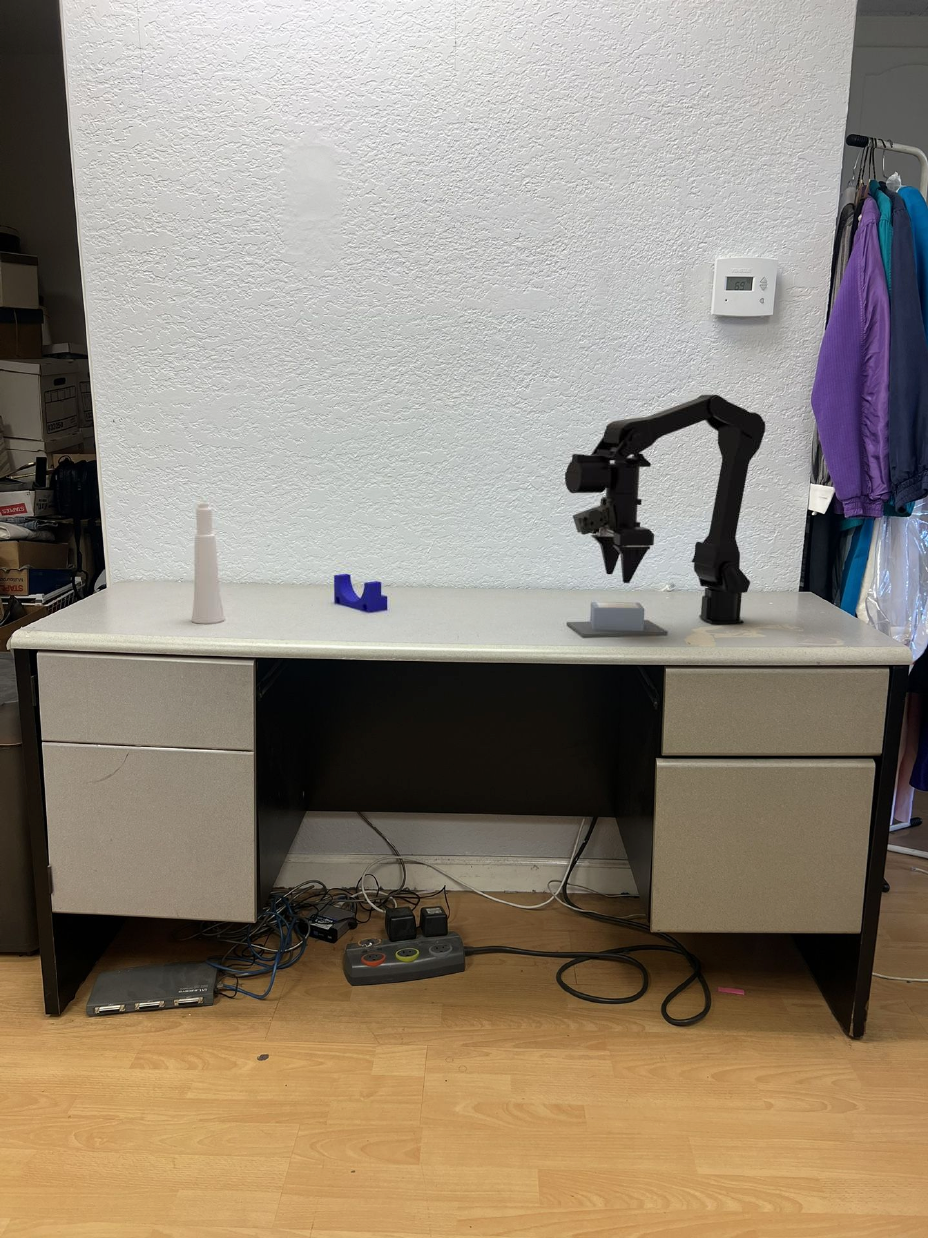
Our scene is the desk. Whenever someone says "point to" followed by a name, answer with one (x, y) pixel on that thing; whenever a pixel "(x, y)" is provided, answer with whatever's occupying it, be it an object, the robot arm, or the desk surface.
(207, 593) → the cosmetic bottle
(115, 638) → the desk surface
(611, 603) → the card deck
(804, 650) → the desk surface
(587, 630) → the mat
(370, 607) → the cable clip
